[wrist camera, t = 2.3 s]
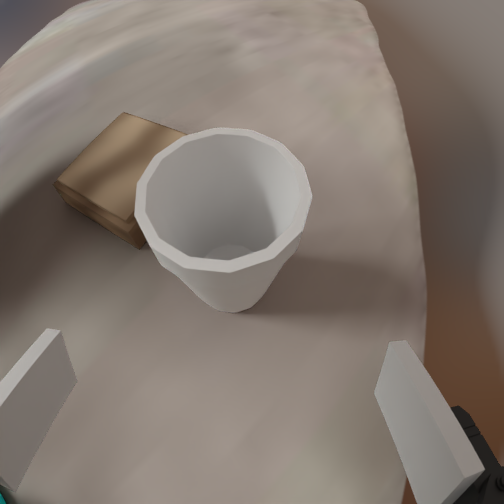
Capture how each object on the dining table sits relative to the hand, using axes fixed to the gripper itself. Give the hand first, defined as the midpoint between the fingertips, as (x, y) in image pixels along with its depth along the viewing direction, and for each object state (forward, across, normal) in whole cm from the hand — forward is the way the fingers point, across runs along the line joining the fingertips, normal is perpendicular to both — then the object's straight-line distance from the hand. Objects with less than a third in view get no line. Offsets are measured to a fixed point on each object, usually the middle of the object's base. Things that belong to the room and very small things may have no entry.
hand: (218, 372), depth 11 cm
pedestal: (+24, -12, +4) cm, 27 cm away
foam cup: (+17, 0, -4) cm, 17 cm away
